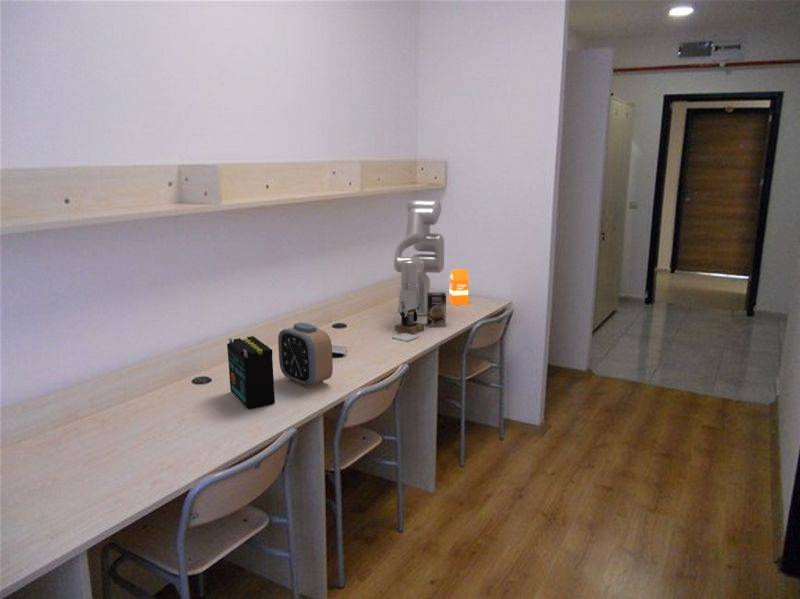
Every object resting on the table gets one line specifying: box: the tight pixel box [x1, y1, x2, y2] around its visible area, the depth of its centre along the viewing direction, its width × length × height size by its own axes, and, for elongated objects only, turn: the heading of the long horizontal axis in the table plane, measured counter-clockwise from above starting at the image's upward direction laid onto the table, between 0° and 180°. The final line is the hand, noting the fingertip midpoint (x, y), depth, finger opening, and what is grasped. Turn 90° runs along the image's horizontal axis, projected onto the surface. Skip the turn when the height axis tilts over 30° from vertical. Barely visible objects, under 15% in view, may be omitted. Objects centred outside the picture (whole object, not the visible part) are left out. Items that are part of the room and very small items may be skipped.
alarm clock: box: [277, 322, 334, 389], centre depth 225 cm, size 21×10×22 cm, turn 45°
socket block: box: [394, 321, 425, 335], centre depth 293 cm, size 10×10×3 cm
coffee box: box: [426, 292, 447, 328], centre depth 301 cm, size 9×6×16 cm
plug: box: [405, 310, 415, 327], centre depth 292 cm, size 4×4×10 cm
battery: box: [226, 335, 276, 410], centre depth 211 cm, size 19×10×20 cm, turn 32°
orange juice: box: [448, 268, 469, 307], centre depth 344 cm, size 8×9×20 cm
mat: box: [391, 333, 420, 342], centre depth 282 cm, size 9×9×1 cm
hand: (409, 322), depth 292 cm, fingers open, 6 cm apart
